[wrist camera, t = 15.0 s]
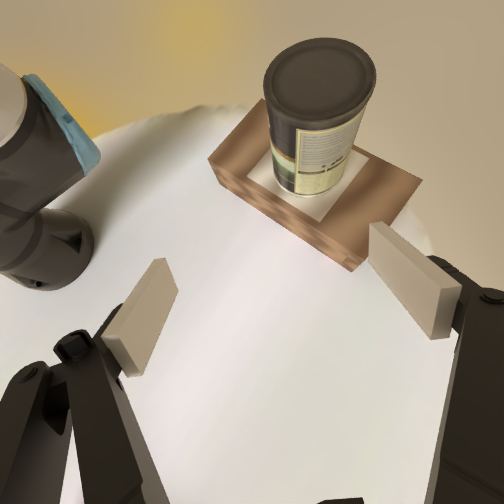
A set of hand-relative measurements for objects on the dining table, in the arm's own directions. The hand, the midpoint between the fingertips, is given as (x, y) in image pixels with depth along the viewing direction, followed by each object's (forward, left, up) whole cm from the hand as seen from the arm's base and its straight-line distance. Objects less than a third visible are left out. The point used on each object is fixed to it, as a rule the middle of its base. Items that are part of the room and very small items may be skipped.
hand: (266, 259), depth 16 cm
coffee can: (-8, +17, -17) cm, 25 cm away
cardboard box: (-8, +17, -25) cm, 31 cm away
